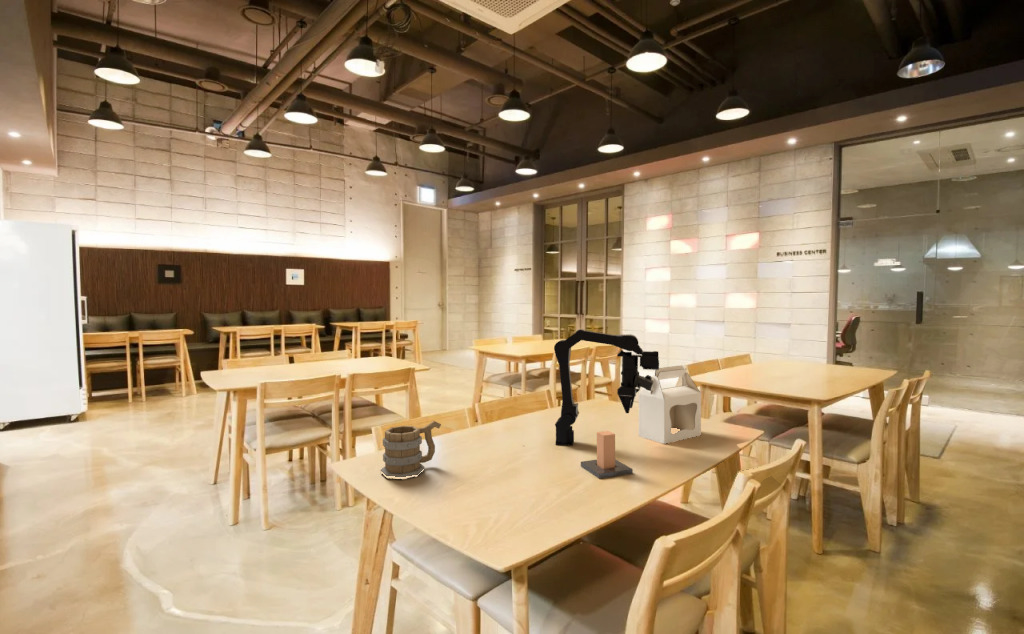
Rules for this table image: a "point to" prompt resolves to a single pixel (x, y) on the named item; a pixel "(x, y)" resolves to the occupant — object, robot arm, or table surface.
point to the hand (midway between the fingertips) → (629, 410)
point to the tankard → (407, 449)
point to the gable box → (670, 407)
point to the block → (606, 449)
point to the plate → (605, 473)
